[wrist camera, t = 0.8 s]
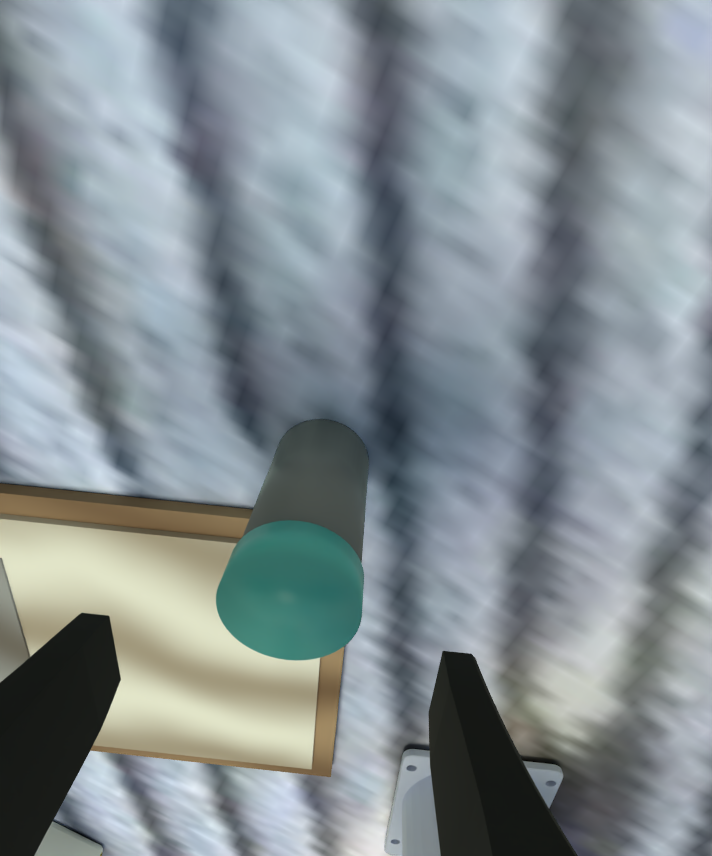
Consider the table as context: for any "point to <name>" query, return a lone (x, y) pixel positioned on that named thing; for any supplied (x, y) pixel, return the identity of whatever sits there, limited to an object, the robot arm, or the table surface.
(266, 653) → the teal topped grey cylinder
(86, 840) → the medicine bottle
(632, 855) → the table surface
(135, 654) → the clipboard
